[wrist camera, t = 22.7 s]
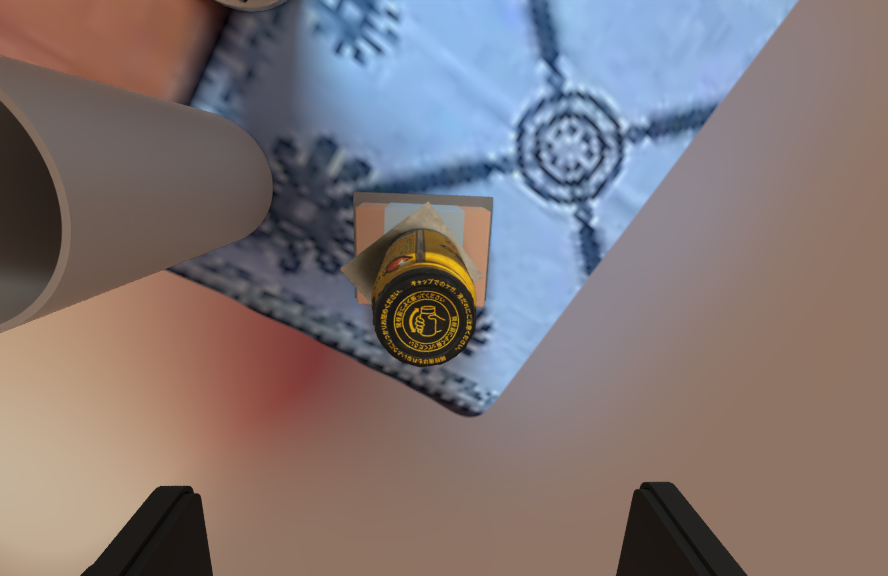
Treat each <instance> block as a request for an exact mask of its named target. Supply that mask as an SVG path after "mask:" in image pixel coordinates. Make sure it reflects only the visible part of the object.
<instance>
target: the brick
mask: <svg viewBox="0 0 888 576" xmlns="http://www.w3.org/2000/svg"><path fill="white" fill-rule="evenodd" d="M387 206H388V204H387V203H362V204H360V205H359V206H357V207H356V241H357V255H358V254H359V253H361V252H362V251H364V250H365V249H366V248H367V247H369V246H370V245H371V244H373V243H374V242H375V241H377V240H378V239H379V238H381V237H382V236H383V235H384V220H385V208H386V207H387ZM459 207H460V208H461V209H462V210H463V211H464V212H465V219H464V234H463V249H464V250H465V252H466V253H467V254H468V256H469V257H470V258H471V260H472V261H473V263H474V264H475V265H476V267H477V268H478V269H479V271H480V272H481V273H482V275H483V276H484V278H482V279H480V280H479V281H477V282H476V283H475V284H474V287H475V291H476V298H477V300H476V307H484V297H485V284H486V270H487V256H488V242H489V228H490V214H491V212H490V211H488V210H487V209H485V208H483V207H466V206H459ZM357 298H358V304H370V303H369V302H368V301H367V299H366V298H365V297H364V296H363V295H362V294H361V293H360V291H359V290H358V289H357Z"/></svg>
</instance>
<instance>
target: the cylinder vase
mask: <svg viewBox="0 0 888 576" xmlns="http://www.w3.org/2000/svg"><path fill="white" fill-rule="evenodd" d="M272 194H273V182H272V175H271V170H270V167H269V164H268V162H267V159H266V157H265V155H264V153H263V151H262V150H261V148H260V147H259V145H258V144H257V143H256V141H255V140H254V139H253V138H252V137H251V136H250V135H249V134H248V133H247V132H246V131H245V130H244V129H243V128H241V127H240V126H239V125H237V124H236V123H234V122H233V121H231V120H229V119H227V118H225V117H223V116H220V115H217V114H214V113H211V112H207V111H203V110H200V109H196V108H192V107H189V106H185V105H181V104H178V103H174V102H170V101H167V100H163V99H159V98H156V97H152V96H148V95H145V94H141V93H137V92H134V91H130V90H126V89H123V88H119V87H115V86H112V85H108V84H104V83H101V82H97V81H93V80H90V79H86V78H82V77H79V76H75V75H71V74H68V73H64V72H60V71H57V70H53V69H49V68H46V67H42V66H38V65H35V64H31V63H27V62H24V61H20V60H16V59H13V58H9V57H5V56H2V55H0V333H2V332H4V331H7V330H9V329H12V328H15V327H17V326H20V325H22V324H25V323H27V322H30V321H32V320H35V319H38V318H40V317H43V316H45V315H48V314H51V313H53V312H56V311H58V310H61V309H64V308H66V307H69V306H71V305H74V304H76V303H79V302H81V301H84V300H87V299H89V298H92V297H94V296H97V295H99V294H102V293H105V292H107V291H110V290H112V289H115V288H118V287H120V286H123V285H125V284H128V283H130V282H133V281H135V280H138V279H141V278H143V277H146V276H148V275H151V274H154V273H156V272H159V271H161V270H164V269H167V268H169V267H172V266H174V265H177V264H179V263H182V262H185V261H187V260H190V259H192V258H195V257H197V256H200V255H203V254H205V253H208V252H210V251H213V250H215V249H218V248H221V247H223V246H226V245H228V244H231V243H233V242H236V241H239V240H241V239H243V238H245V237H246V236H248V235H249V234H251V233H252V232H253V231H254V230H256V229H257V228H258V226H259V225H260V224H261V223H262V221H263V220H264V218H265V217H266V215H267V213H268V211H269V208H270V205H271V201H272Z"/></svg>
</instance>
